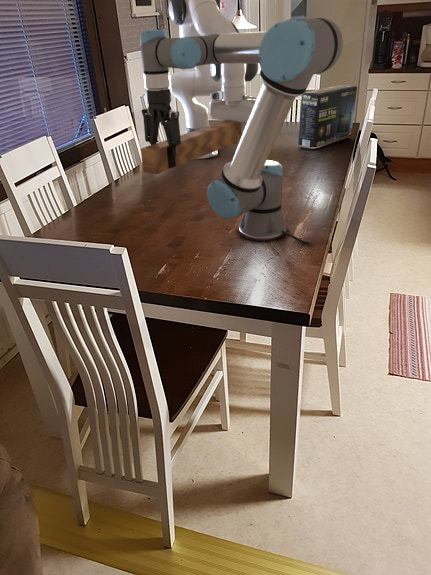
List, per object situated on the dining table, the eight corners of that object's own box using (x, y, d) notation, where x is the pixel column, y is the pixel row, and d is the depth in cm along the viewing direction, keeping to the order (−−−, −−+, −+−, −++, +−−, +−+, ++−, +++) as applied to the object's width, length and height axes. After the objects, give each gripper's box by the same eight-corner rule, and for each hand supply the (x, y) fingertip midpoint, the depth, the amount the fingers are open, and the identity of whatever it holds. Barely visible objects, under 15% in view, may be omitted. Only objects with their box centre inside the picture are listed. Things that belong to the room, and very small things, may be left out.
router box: (314, 151, 231) (318, 94, 217) (296, 148, 237) (299, 92, 224) (352, 138, 251) (358, 85, 238) (335, 135, 258) (340, 83, 245)
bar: (156, 174, 143) (153, 150, 139) (143, 172, 146) (140, 148, 142) (250, 137, 181) (250, 117, 177) (238, 135, 184) (238, 116, 180)
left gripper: (262, 95, 165) (261, 134, 173) (216, 91, 176) (217, 128, 183) (253, 97, 161) (252, 138, 168) (206, 94, 172) (208, 132, 179)
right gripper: (189, 88, 135) (194, 166, 147) (143, 85, 145) (151, 159, 157) (173, 92, 130) (179, 172, 142) (126, 88, 140) (136, 164, 152)
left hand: (234, 133), depth 176 cm, fingers closed on bar, 5 cm apart
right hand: (165, 165), depth 149 cm, fingers closed on bar, 6 cm apart
